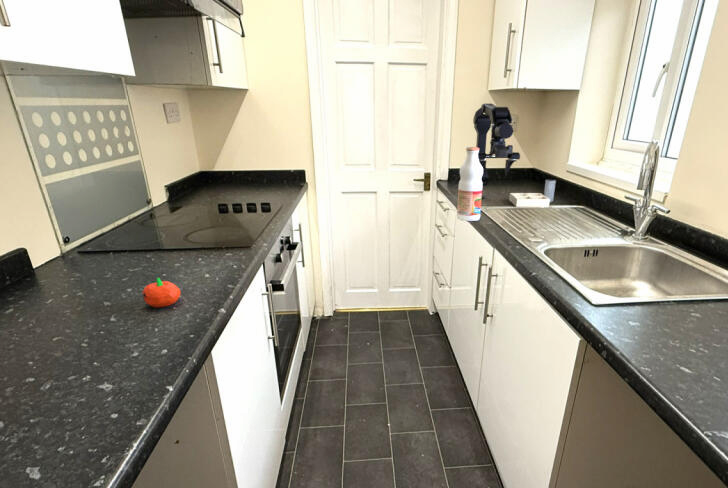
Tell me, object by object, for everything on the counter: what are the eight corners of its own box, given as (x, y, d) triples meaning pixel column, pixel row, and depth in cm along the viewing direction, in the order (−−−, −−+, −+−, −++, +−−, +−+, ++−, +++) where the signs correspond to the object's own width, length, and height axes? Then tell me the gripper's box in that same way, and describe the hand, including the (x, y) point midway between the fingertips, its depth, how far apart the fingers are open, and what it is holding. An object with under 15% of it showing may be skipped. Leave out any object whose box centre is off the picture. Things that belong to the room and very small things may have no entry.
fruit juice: (457, 215, 173) (460, 146, 162) (479, 216, 172) (484, 146, 161) (456, 221, 164) (460, 148, 154) (480, 222, 163) (485, 148, 152)
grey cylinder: (541, 200, 202) (543, 179, 198) (548, 200, 203) (551, 178, 199) (547, 202, 198) (550, 180, 194) (554, 201, 199) (557, 180, 195)
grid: (509, 200, 203) (509, 193, 201) (539, 200, 202) (540, 193, 201) (516, 206, 189) (517, 199, 187) (548, 207, 188) (549, 199, 187)
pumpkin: (160, 314, 89) (153, 287, 87) (139, 306, 93) (132, 280, 90) (190, 302, 95) (184, 276, 93) (169, 295, 99) (163, 270, 96)
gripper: (481, 138, 165) (479, 178, 170) (526, 138, 166) (522, 178, 171) (474, 139, 175) (472, 176, 180) (516, 138, 177) (513, 175, 182)
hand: (495, 176), depth 178 cm, fingers open, 9 cm apart
